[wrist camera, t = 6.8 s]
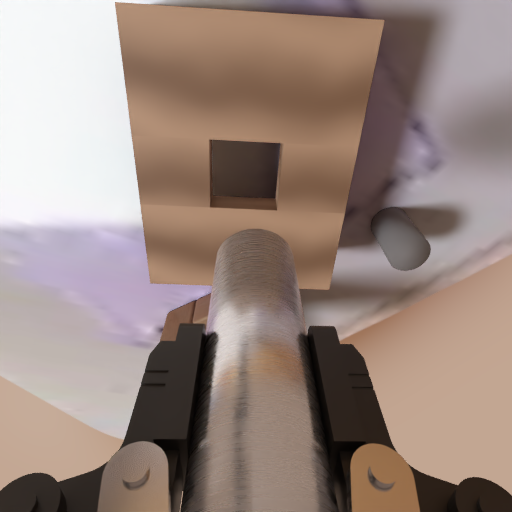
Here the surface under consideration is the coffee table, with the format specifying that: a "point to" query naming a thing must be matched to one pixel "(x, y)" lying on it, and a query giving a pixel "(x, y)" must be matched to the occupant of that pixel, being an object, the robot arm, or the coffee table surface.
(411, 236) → the short pin
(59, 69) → the coffee table surface
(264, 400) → the long pin
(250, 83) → the brown block with hole
